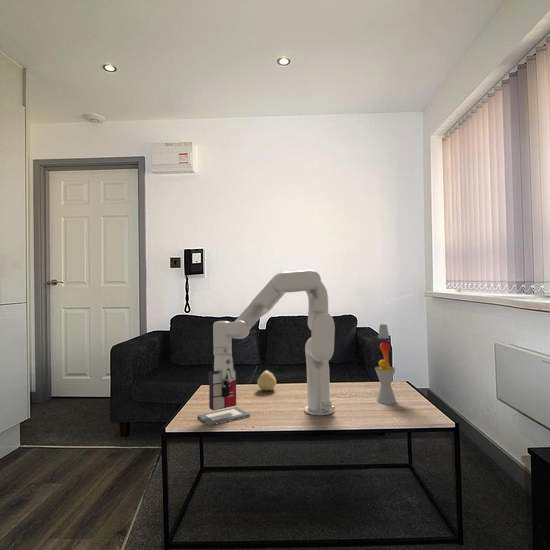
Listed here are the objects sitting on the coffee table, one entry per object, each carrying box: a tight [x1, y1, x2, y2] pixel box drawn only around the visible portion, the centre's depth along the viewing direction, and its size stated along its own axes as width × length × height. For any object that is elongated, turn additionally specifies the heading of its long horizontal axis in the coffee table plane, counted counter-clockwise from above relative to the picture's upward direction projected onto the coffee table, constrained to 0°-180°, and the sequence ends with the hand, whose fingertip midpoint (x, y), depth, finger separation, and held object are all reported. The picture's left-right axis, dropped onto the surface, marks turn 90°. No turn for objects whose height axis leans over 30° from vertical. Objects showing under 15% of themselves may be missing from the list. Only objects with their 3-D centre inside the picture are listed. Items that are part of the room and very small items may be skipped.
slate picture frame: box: [197, 406, 251, 426], centre depth 152 cm, size 12×18×1 cm, turn 123°
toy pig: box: [256, 369, 277, 391], centre depth 192 cm, size 10×12×11 cm
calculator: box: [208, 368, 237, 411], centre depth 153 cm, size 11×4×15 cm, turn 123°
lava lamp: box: [374, 323, 397, 405], centre depth 169 cm, size 9×9×35 cm
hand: (223, 394), depth 153 cm, fingers closed on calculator, 3 cm apart
